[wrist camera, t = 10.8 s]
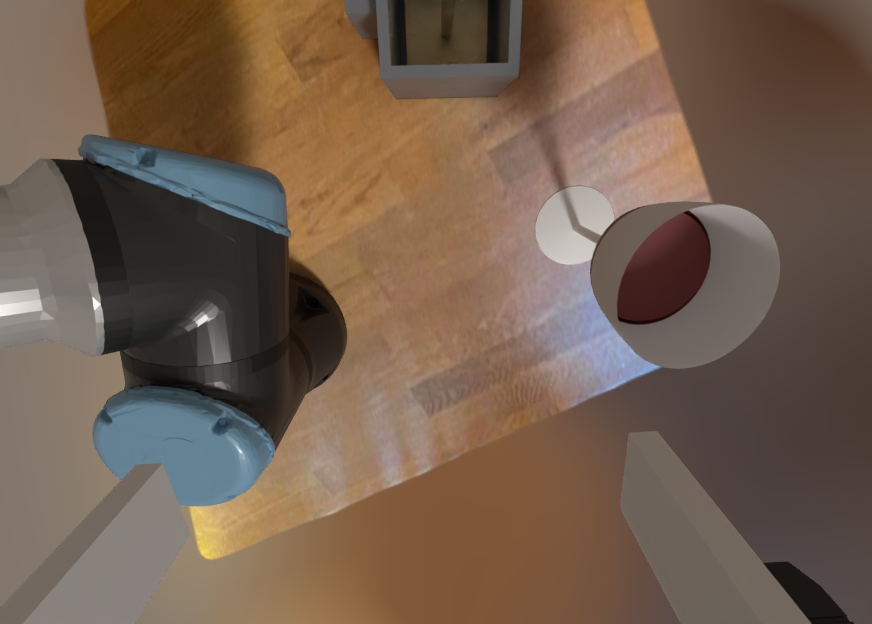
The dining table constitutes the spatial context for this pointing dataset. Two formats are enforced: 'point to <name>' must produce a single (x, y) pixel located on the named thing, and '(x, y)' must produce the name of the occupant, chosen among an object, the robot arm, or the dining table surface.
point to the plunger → (446, 31)
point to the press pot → (385, 20)
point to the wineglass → (667, 271)
